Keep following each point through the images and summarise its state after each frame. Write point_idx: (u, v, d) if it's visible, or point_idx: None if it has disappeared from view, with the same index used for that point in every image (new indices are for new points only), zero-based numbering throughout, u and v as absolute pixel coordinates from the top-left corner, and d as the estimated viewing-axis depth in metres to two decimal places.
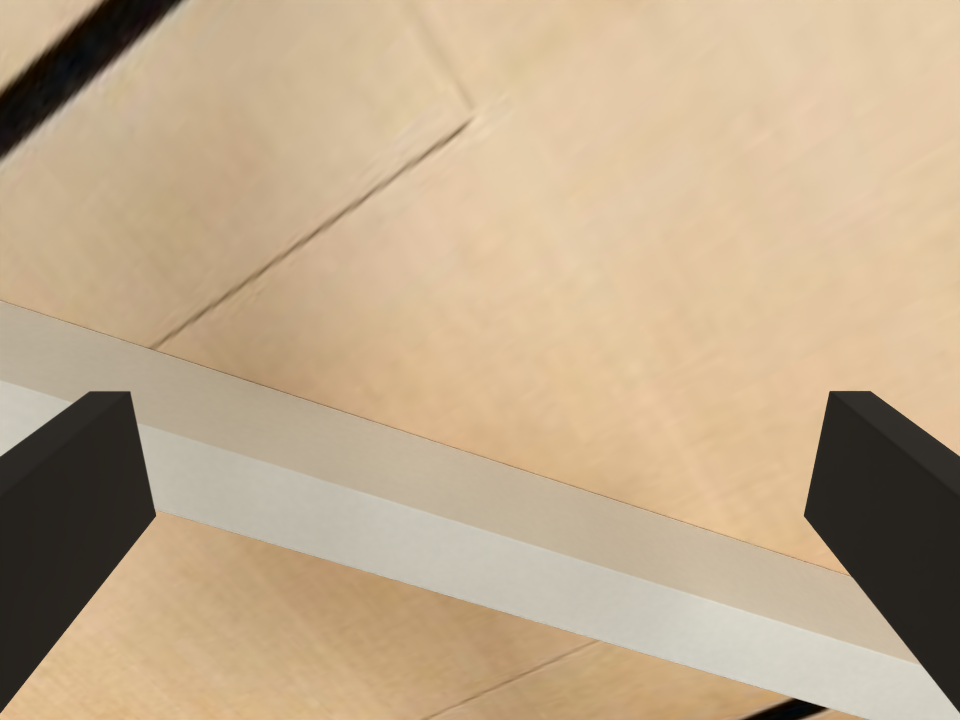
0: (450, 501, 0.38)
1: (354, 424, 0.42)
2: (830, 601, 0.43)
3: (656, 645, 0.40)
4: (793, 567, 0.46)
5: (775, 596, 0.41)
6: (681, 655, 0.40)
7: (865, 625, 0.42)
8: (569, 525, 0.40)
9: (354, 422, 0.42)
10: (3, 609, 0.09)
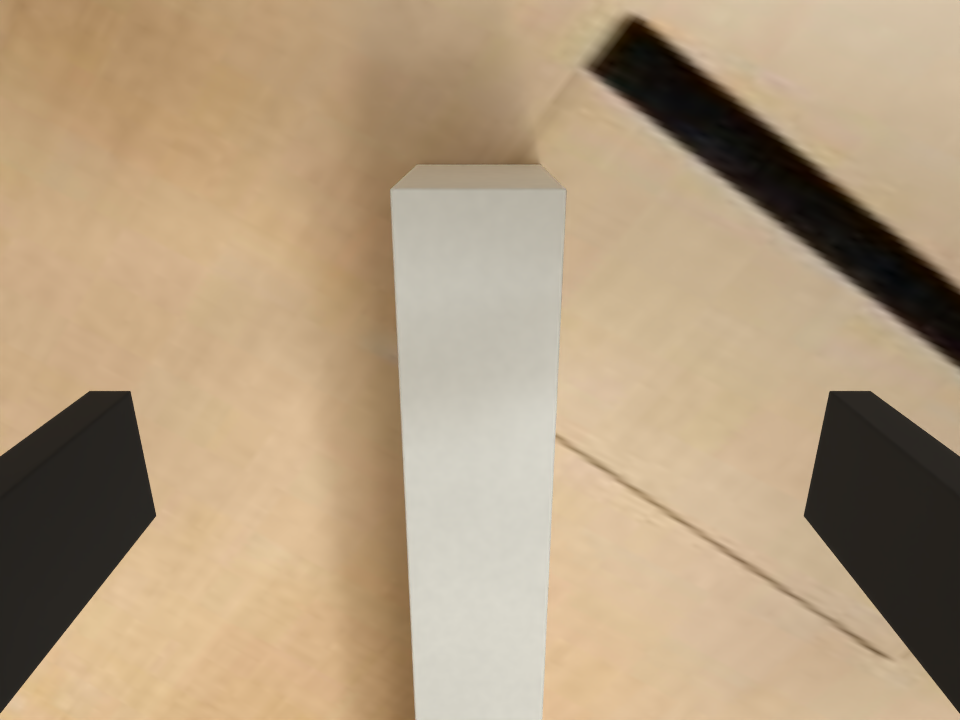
0: None
1: None
2: None
3: None
4: None
5: None
6: None
7: None
8: None
9: None
10: (3, 609, 0.09)
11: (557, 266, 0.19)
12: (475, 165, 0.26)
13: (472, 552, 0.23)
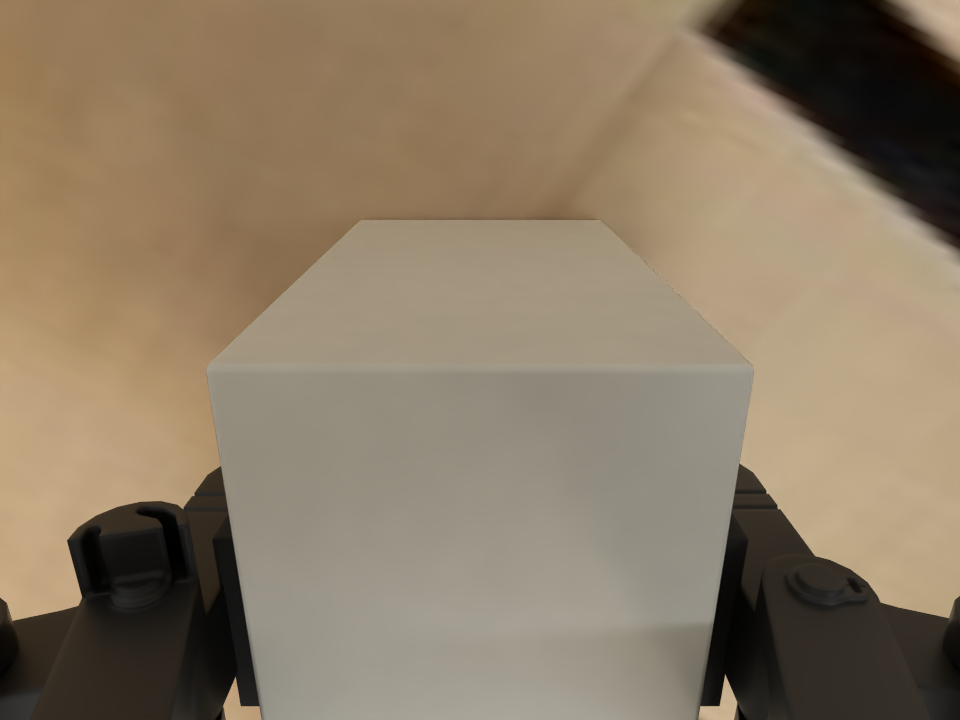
0: None
1: None
2: None
3: None
4: None
5: None
6: None
7: None
8: None
9: None
10: None
11: (707, 570, 0.07)
12: (474, 224, 0.13)
13: None
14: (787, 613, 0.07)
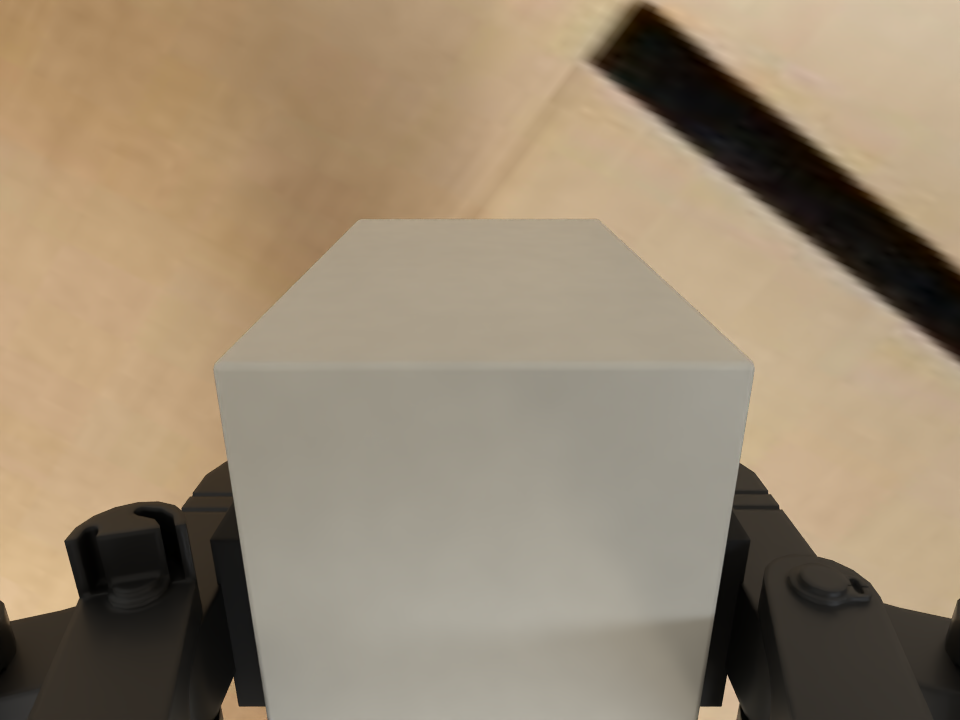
0: None
1: None
2: None
3: None
4: None
5: None
6: None
7: None
8: None
9: None
10: None
11: (708, 564, 0.07)
12: (472, 223, 0.13)
13: None
14: (789, 615, 0.07)
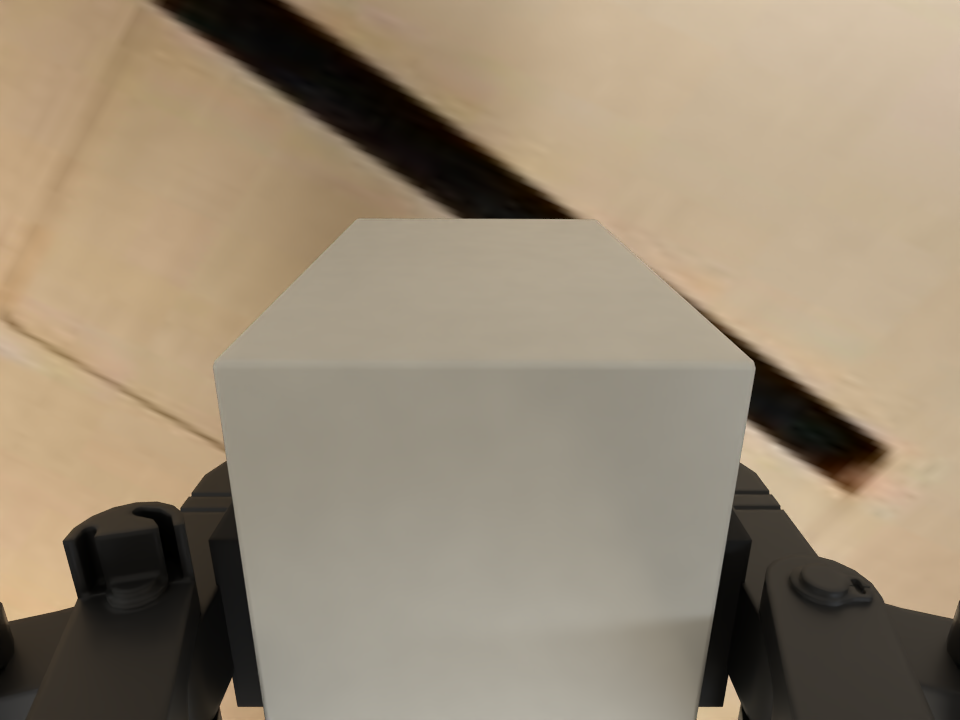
0: None
1: None
2: None
3: None
4: None
5: None
6: None
7: None
8: None
9: None
10: None
11: (708, 564, 0.07)
12: (471, 223, 0.13)
13: None
14: (790, 614, 0.07)
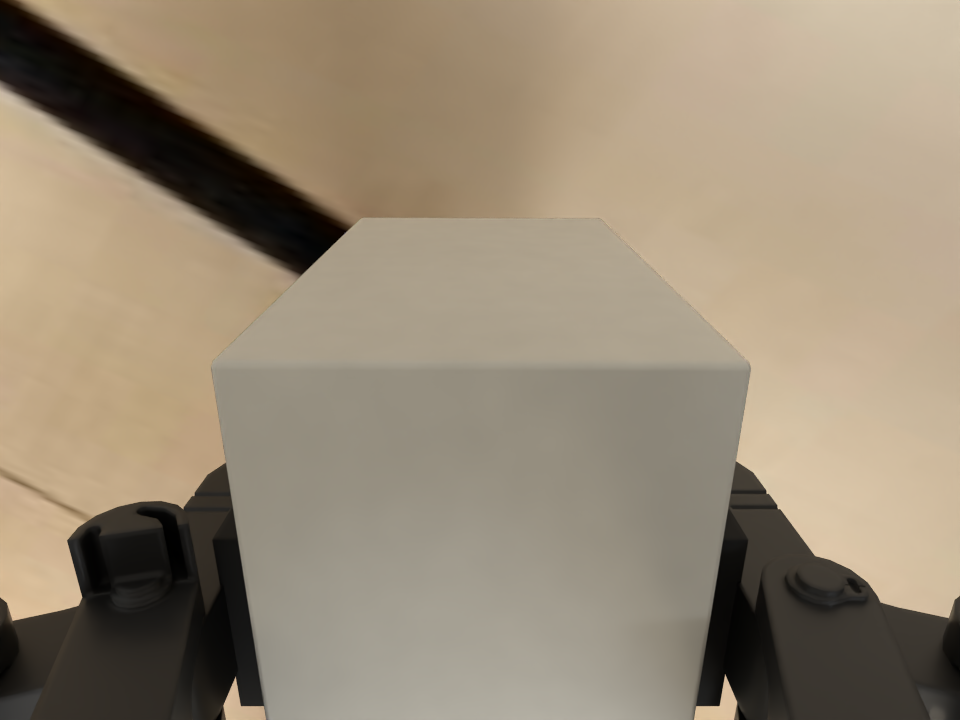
0: None
1: None
2: None
3: None
4: None
5: None
6: None
7: None
8: None
9: None
10: None
11: (704, 564, 0.07)
12: (474, 222, 0.13)
13: None
14: (787, 615, 0.07)
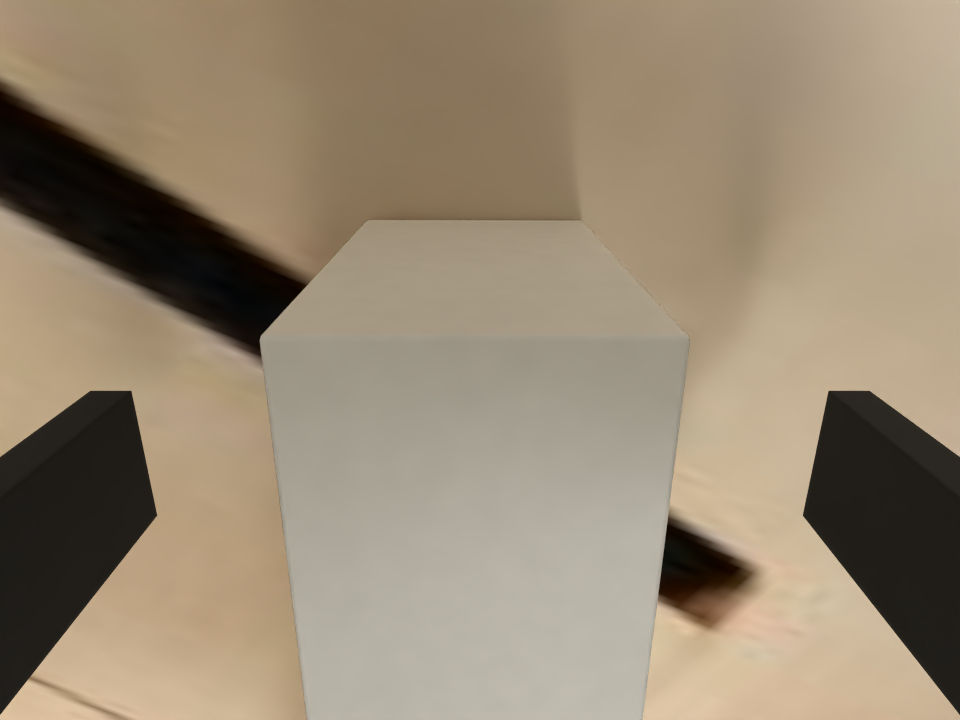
0: None
1: None
2: None
3: None
4: None
5: None
6: None
7: None
8: None
9: None
10: (5, 609, 0.09)
11: (657, 502, 0.08)
12: (469, 224, 0.15)
13: None
14: None
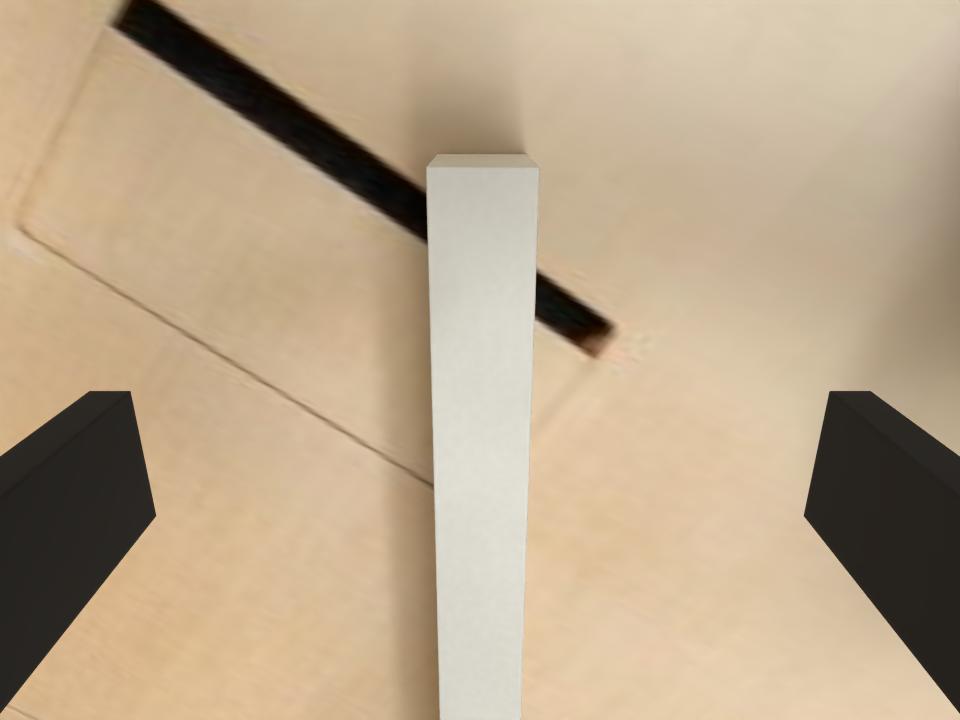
0: None
1: None
2: None
3: None
4: None
5: None
6: None
7: None
8: None
9: None
10: (3, 609, 0.09)
11: (533, 218, 0.30)
12: (479, 154, 0.36)
13: (477, 421, 0.33)
14: None
